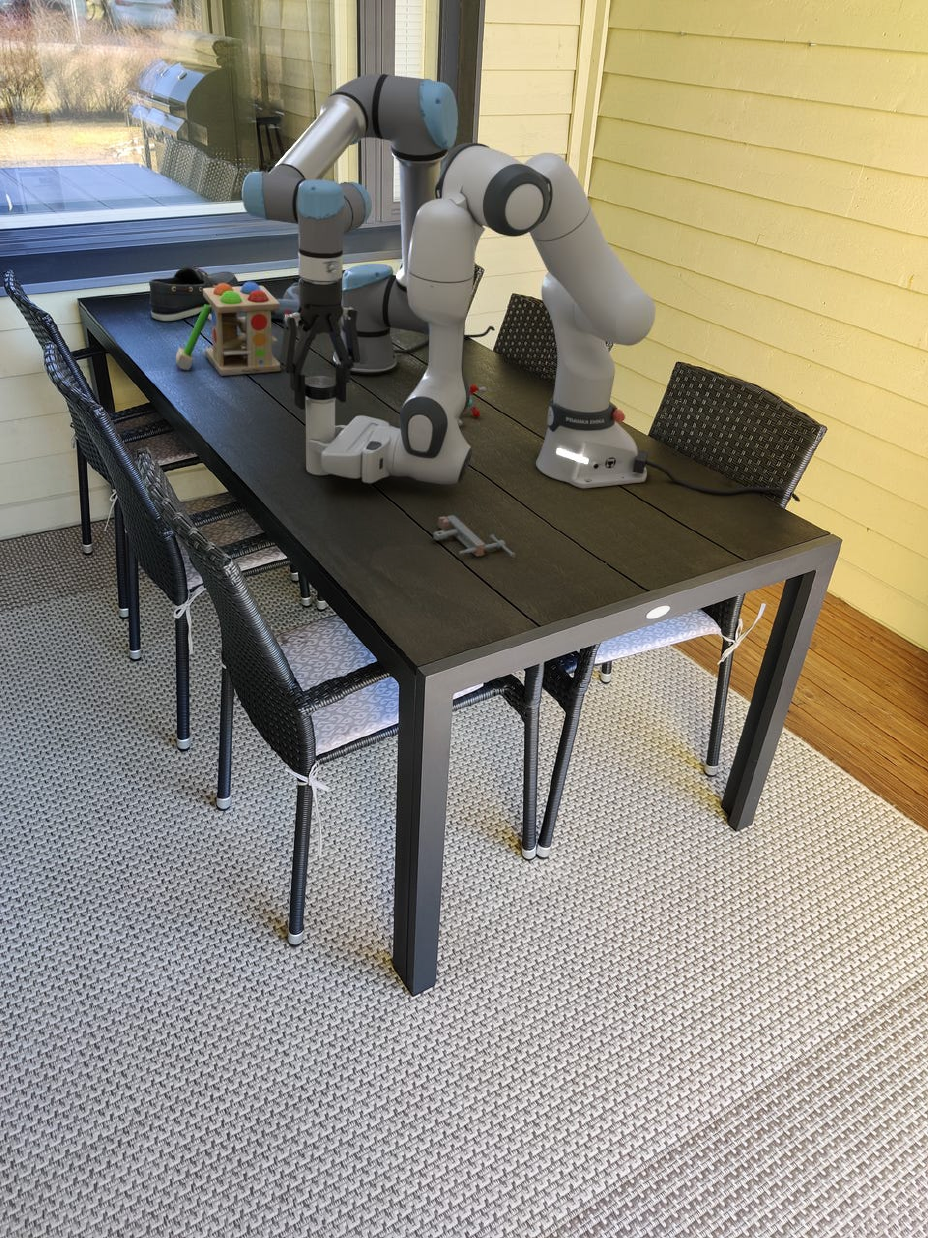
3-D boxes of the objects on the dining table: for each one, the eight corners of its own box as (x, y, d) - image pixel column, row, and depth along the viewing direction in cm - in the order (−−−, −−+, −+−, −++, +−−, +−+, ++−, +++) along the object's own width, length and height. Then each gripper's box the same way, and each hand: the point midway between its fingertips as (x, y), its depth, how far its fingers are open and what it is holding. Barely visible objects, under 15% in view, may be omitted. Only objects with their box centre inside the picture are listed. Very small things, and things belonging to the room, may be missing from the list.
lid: (339, 389, 184) (339, 376, 182) (335, 401, 179) (335, 389, 177) (306, 386, 183) (305, 374, 182) (301, 398, 178) (301, 386, 177)
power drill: (344, 304, 276) (335, 327, 259) (277, 298, 275) (264, 321, 258) (344, 285, 273) (335, 306, 256) (277, 279, 272) (264, 300, 255)
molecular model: (479, 418, 207) (464, 372, 206) (439, 432, 211) (424, 387, 209) (495, 415, 218) (481, 371, 216) (457, 429, 221) (443, 386, 220)
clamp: (423, 519, 171) (472, 509, 176) (423, 530, 173) (471, 520, 177) (466, 561, 161) (517, 549, 165) (465, 572, 162) (516, 561, 167)
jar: (340, 469, 190) (341, 387, 181) (321, 477, 187) (321, 395, 177) (319, 460, 193) (319, 379, 183) (300, 468, 189) (299, 386, 180)
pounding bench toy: (183, 379, 220) (176, 299, 210) (169, 357, 231) (162, 280, 221) (282, 371, 230) (280, 294, 220) (264, 350, 240) (262, 276, 230)
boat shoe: (257, 300, 274) (255, 261, 268) (168, 323, 250) (164, 281, 244) (224, 291, 279) (221, 254, 274) (133, 313, 256) (128, 272, 250)
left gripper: (275, 290, 162) (278, 419, 174) (383, 279, 172) (378, 402, 185) (255, 277, 166) (260, 404, 179) (361, 267, 177) (358, 388, 190)
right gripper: (402, 414, 191) (335, 402, 193) (368, 455, 174) (295, 441, 176) (401, 444, 194) (335, 431, 196) (367, 487, 177) (295, 473, 180)
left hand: (320, 403), depth 182 cm, fingers open, 8 cm apart
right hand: (315, 436), depth 186 cm, fingers closed on jar, 5 cm apart
